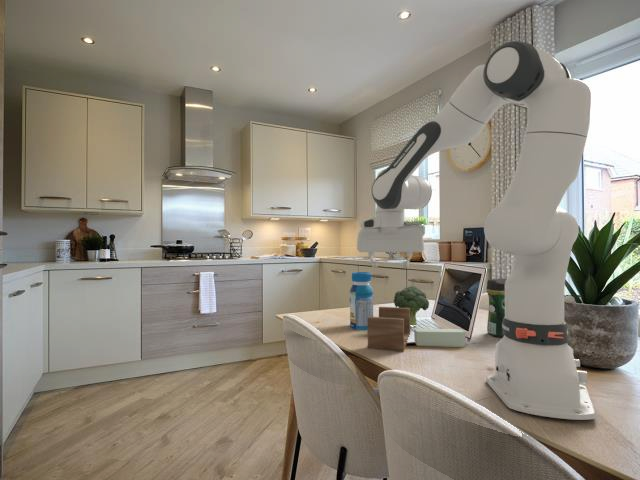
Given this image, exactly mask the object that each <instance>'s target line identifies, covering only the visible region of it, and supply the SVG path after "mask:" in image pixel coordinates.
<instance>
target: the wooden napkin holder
mask: <svg viewBox="0 0 640 480" xmlns="http://www.w3.org/2000/svg"><path fill="white" fill-rule="evenodd" d="M409 335H410V336H411V327H410V308H399V307H398V306H397V307H396V306H395V307H393V306H378V316H373V317H368V330H367V349H371V350H380V351H381V350H382V351H392V352H401V353H404V352H405V349H406V348H407V347H406V346H407V343H408V341H409V339H408V337H409V338H410V336H409ZM407 340H408V341H407Z"/></svg>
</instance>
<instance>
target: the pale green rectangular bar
mask: <svg viewBox="0 0 640 480" xmlns="http://www.w3.org/2000/svg"><path fill="white" fill-rule="evenodd" d="M413 330H414V333H413V334H414V339H413V340H414V341H415V342H414V343H415V346H421V347H423V346H425V347H454V348H458V347H459V348H466V346H467V345H466V344H467V343H466V341H467V340H466V338H467V337H466V331H464V330H463V329H462V328H414V329H413Z"/></svg>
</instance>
